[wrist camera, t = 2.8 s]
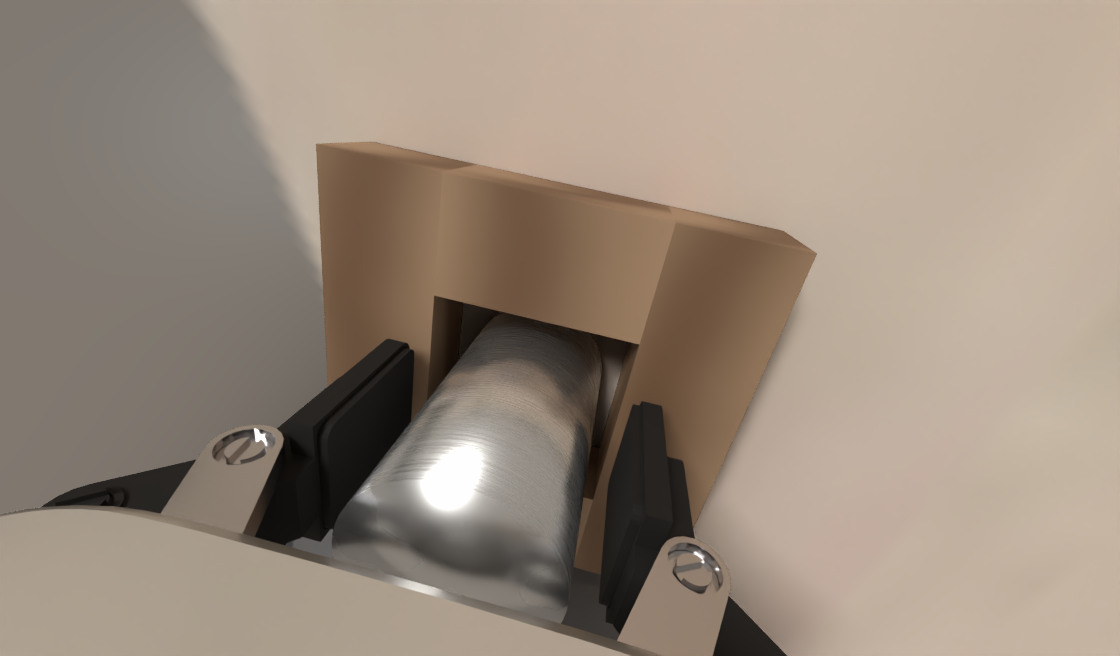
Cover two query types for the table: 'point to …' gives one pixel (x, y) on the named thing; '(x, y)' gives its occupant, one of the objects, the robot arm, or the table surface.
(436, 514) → the pin
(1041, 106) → the table surface
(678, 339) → the pin block
